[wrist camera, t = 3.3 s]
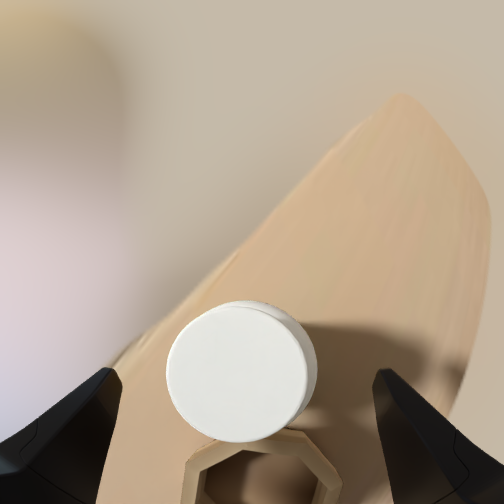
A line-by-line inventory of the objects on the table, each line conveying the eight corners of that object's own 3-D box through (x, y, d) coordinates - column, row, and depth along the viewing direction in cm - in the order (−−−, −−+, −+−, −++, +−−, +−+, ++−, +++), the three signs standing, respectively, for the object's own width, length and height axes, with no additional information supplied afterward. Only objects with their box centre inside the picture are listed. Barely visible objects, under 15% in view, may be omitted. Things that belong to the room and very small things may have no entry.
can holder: (312, 529, 11) (317, 552, 8) (190, 512, 12) (177, 533, 9) (340, 430, 14) (354, 444, 11) (205, 413, 15) (191, 424, 12)
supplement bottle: (212, 319, 17) (146, 280, 8) (299, 318, 17) (330, 276, 8) (211, 404, 15) (144, 453, 6) (301, 404, 15) (332, 461, 6)
